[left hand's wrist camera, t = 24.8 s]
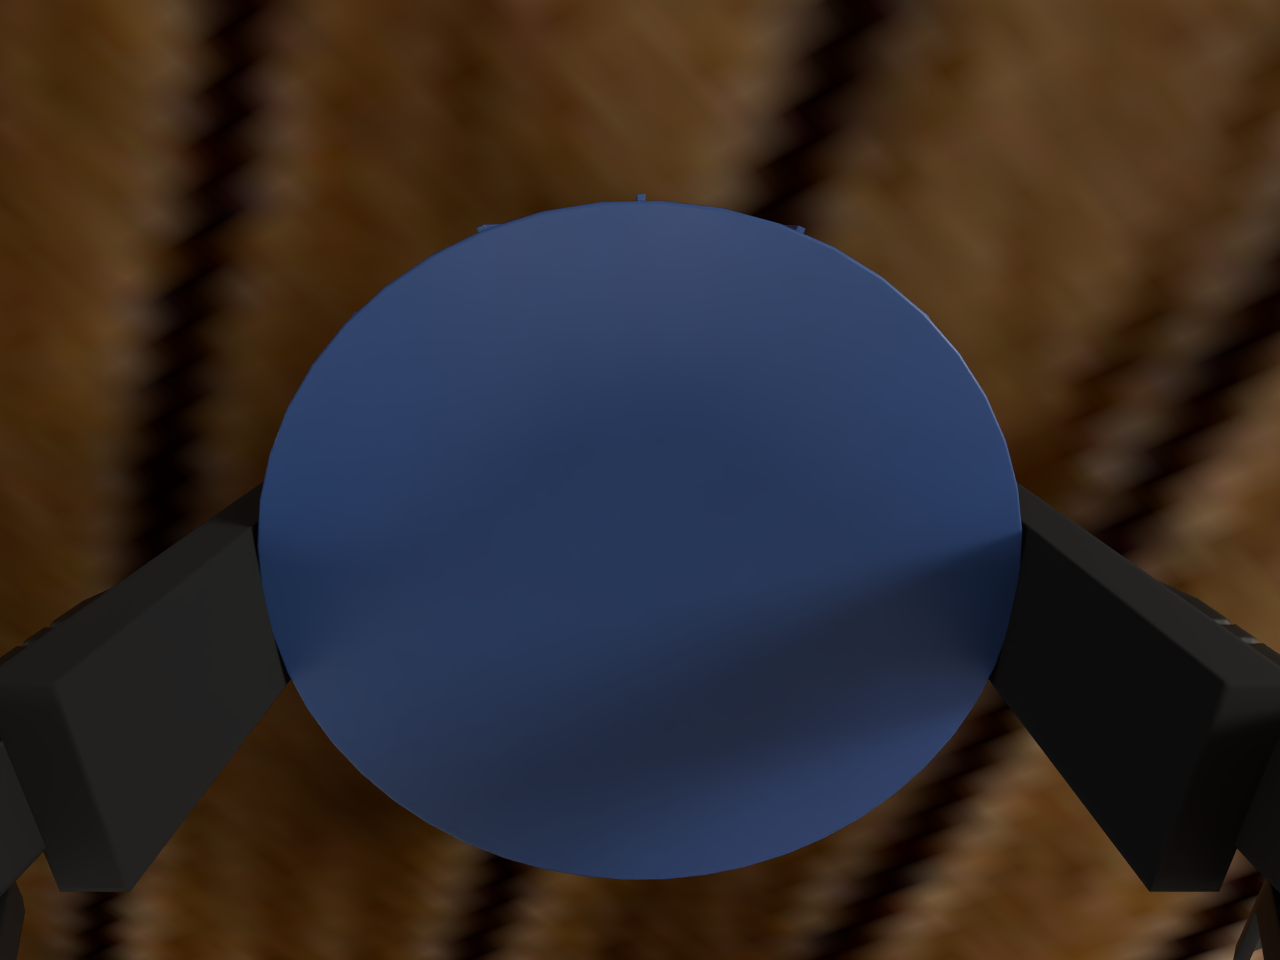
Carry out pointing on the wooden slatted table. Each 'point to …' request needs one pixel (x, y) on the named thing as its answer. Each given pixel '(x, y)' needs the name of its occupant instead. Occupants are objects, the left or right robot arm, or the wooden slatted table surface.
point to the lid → (639, 540)
